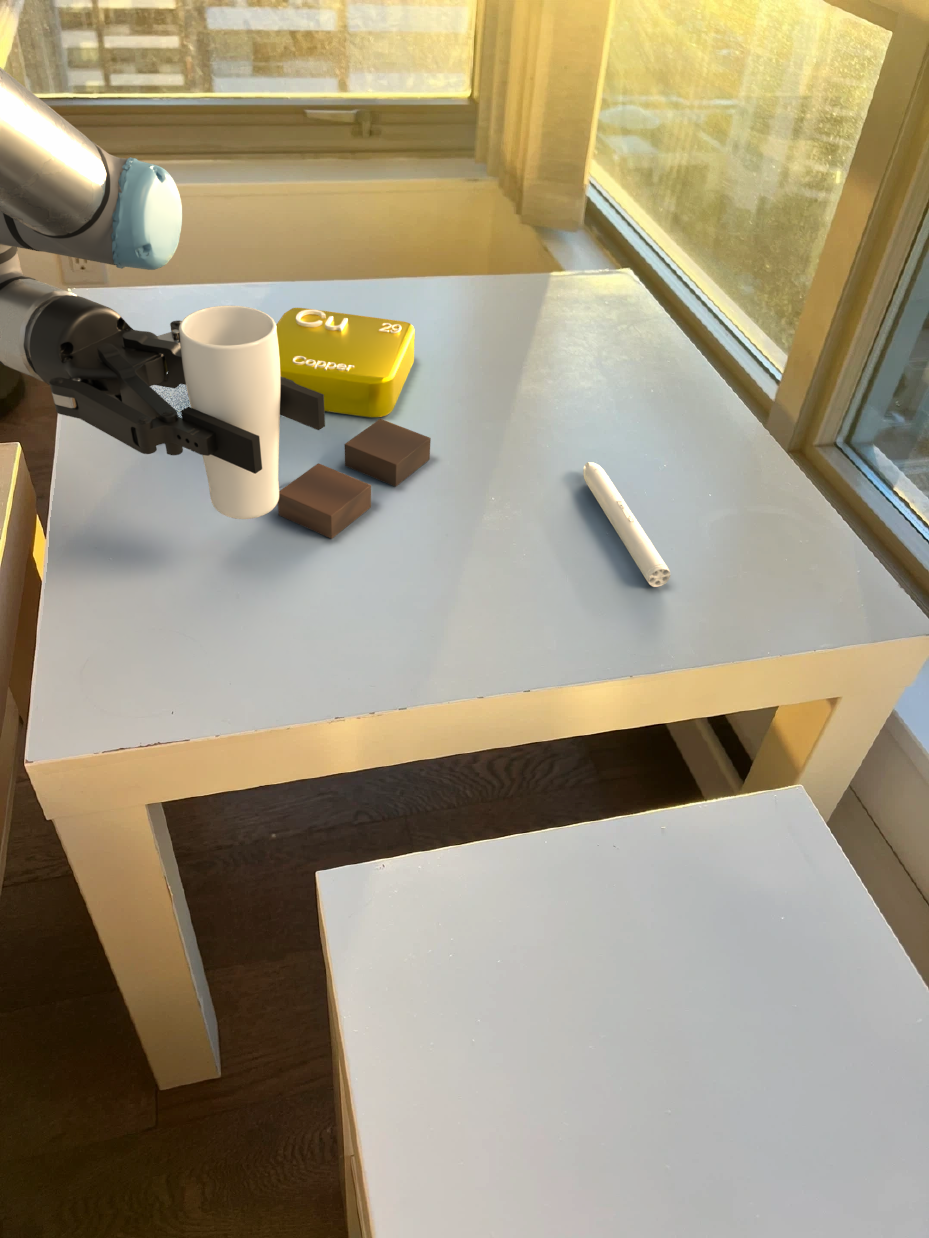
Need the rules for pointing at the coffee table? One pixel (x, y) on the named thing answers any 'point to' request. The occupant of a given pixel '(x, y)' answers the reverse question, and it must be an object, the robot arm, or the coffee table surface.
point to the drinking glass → (236, 398)
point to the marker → (626, 526)
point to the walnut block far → (387, 452)
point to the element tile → (346, 358)
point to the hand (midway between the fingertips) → (290, 433)
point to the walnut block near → (324, 500)
